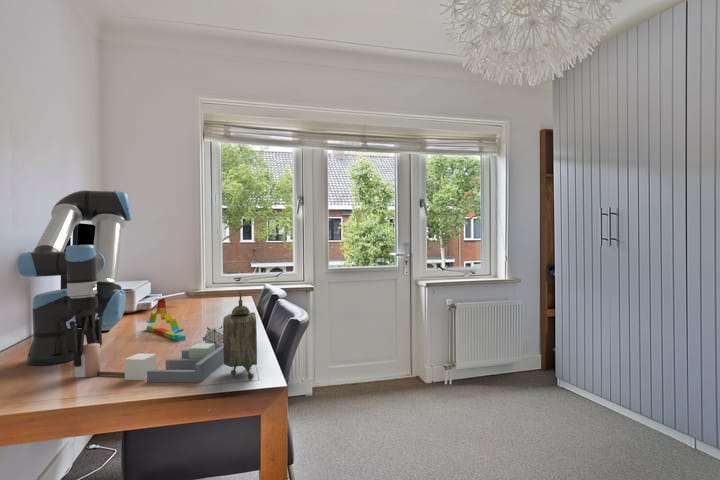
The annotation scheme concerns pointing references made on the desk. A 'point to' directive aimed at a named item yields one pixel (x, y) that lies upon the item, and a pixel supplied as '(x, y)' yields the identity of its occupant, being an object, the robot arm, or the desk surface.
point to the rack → (188, 368)
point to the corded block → (133, 365)
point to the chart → (164, 316)
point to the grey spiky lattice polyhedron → (214, 336)
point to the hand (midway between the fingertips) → (86, 373)
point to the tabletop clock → (240, 338)
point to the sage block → (201, 350)
